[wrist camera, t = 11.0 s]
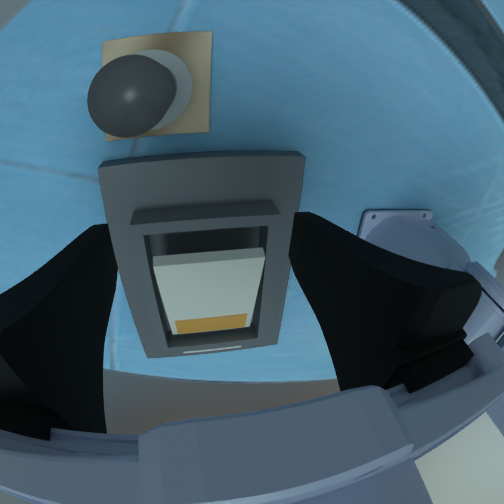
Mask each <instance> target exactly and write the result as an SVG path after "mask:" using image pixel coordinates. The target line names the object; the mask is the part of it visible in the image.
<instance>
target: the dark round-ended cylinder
mask: <svg viewBox="0 0 504 504" xmlns="http://www.w3.org/2000/svg"><path fill="white" fill-rule="evenodd" d="M191 94H192V78H191V74H190V72H189V70H188V68H187V66H186V65H185V63H184V62H183V61H182V60H181V59H180V58H179V57H177V56H176V55H174V54H172V53H170V52H167V51H164V50H145V51H141V52H138V53H135V54H133V55H125V56H121V57H118V58H116V59H114V60H112V61H110V62H109V63H107V64H106V65H105V66H103V67H102V68H101V69H100V70H99V72H98V73H97V74H96V75H95V77H94V79H93V80H92V83H91V85H90V88H89V92H88V99H87V102H88V110H89V113H90V116H91V118H92V120H93V121H94V123H95V124H96V125H97V126H98V127H99V128H100V129H101V130H102V131H104V132H105V133H107V134H109V135H112V136H116V137H122V138H128V137H135V136H138V135H141V134H144V133H146V132H147V131H149V130H155V129H159V128H162V127H165V126H167V125H169V124H170V123H172V122H173V121H175V120H176V119H177V118H178V117H179V116H180V115H181V114H182V113H183V111H184V110H185V109H186V107H187V105H188V103H189V101H190V98H191Z"/></svg>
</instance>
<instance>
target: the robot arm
mask: <svg viewBox="0 0 504 504" xmlns="http://www.w3.org/2000/svg"><path fill="white" fill-rule="evenodd" d="M373 215H374V216H373ZM372 216H373V217H372ZM432 217H433V212H432V211H431V210H368V211H366V212H365V213H364V215H363V219H362V223H361V227H360V230H359V234H358V236H356V235H354V234H352V233H350V232H348V231H346V230H344V229H343V228H341V227H339V226H337V225H335V224H333V223H331V222H330V221H328V220H326V219H324V218H322V217H320V216H318V215H316V214H313V213H311V212H295V213H294V220H293V227H292V233H291V240H290V247H289V253H288V256H289V259H290V262H291V266H292V268H293V271H294V274H295V276H296V278H297V280H298V282H299V284H300V286H301V288H302V290H303V292H304V294H305V296H306V298H307V300H308V302H309V304H310V305H311V307H312V309H313V311H314V313H315V315H316V317H317V319H318V322H319V324H320V326H321V329H322V332H323V334H324V337H325V340H326V343H327V346H328V349H329V352H330V355H331V358H332V361H333V365H334V368H335V372H336V376H337V379H338V383H339V387H340V392H338V393H334V394H331V395H327V396H323V397H319V398H315V399H311V400H307V401H303V402H299V403H294V404H289V405H284V406H279V407H274V408H269V409H263V410H257V411H252V412H245V413H237V414H230V415H222V416H214V417H203V418H193V419H187V420H181V421H175V422H168V423H162V424H160V425H158V426H156V427H154V428H152V429H150V430H147V431H145V432H144V433H142V434H141V435H124V434H123V435H122V434H107V430H106V423H105V414H104V401H103V400H104V399H103V355H104V343H105V336H106V331H107V326H108V321H109V316H110V312H111V308H112V303H113V299H114V294H115V290H116V282H117V272H118V266H117V262H116V258H115V254H114V249H113V245H112V240H111V236H110V231H109V226H108V224H99V225H93V226H91V227H90V228H88V229H87V230H85V231H84V232H83V233H82V234H80V235H79V236H78V237H77V238H76V239H74V240H73V241H72V242H71V243H70V244H69V245H67V246H66V247H65V248H64V249H63V250H62V251H60V252H59V253H58V254H57V255H55V256H54V257H53V258H52V259H51V260H49V261H48V262H47V263H46V264H45V265H43V266H42V267H41V268H39V269H38V270H37V271H35V272H34V273H33V274H31V275H30V276H28V277H27V278H26V279H24V280H23V281H21V282H20V283H18V284H16V285H15V286H13V287H12V288H10V289H8V290H7V291H5V292H4V293H2V294H0V491H3V492H5V493H8V494H10V495H13V496H15V497H18V498H20V499H23V500H26V501H29V502H32V503H35V504H433V503H432V500H431V498H430V496H429V494H428V491H427V489H426V487H425V484H424V482H423V480H422V478H421V476H420V473H419V471H418V469H417V467H416V465H415V462H414V461H415V460H416V459H418V458H420V457H421V456H423V455H425V454H426V453H428V452H430V451H431V450H433V449H434V448H436V447H438V446H439V445H441V444H442V443H443V442H445V441H447V440H448V439H450V438H451V437H453V436H454V435H455V434H457V433H458V432H460V431H461V430H462V429H464V428H465V427H466V426H468V425H469V424H470V423H472V422H473V421H474V420H476V419H477V418H478V417H479V416H481V415H482V414H483V413H484V412H485V411H486V413H487V414H488V415H489V417H490V418H491V419H492V421H493V422H494V424H495V425H496V426H497V428H498V429H499V430H500V432H501V433H502V435H503V436H504V335H503V336H502V337H501V338H500V340H499V341H498V342H497V343H496V340H497V338H498V337H499V336H500V335H501V334H502V333H503V332H504V288H503V286H502V285H501V284H500V283H499V282H498V281H497V280H496V279H495V278H494V277H493V276H492V275H491V274H490V273H489V272H488V271H487V270H486V269H485V268H483V267H482V266H481V265H480V264H479V263H478V262H472V263H471V260H470V257H469V255H468V253H467V252H466V250H465V249H464V248H463V247H462V246H461V245H460V244H458V243H457V242H456V241H455V240H454V239H453V238H452V237H450V236H449V235H448V234H447V233H446V232H445V231H443V230H442V229H441V228H440V227H439V226H437V225H436V224H435V223H434V222H432V221H431V220H432Z"/></svg>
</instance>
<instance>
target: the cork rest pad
mask: <svg viewBox="0 0 504 504" xmlns="http://www.w3.org/2000/svg"><path fill="white" fill-rule="evenodd" d="M211 49H212V31H197V32H174V33H161V34H151V35H142V36H135V37H128V38H121V39H116V40H110V41H105V42H103V44H102V67H103V66H105V65H106V64H107V63H109V62H110V61H112V60H114V59H116V58H118V57H121V56H125V55H133V54H135V53H138V52H141V51H145V50H164V51H167V52H170V53H172V54H174V55H176V56H177V57H179V58H180V59H181V60H182V61H183V62H184V63H185V65H186V66H187V68H188V70H189V72H190V74H191V78H192V94H191V98H190V101H189V103H188V105H187V107H186V109H185V110H184V111H183V113H182V114H181V115H180V116H179V117H178V118H177V119H176V120H175V121H173V122H172V123H170V124H169V125H167V126H165V127H162V128H159V129H155V130H149V131H147V132H146V133H144V134H141V135H138V136H135V137H128V138H122V137H116V136H112V135H109V134H107V133H105V138H106V142H107V141H114V140H122V139H129V138H138V137H147V136H157V135H169V134H182V133H201V132H209V117H210V74H211Z"/></svg>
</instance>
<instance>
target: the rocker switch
mask: <svg viewBox="0 0 504 504" xmlns="http://www.w3.org/2000/svg"><path fill="white" fill-rule="evenodd" d="M264 261H265V254H264V250H263V247H262V248H250V249H237V250H225V251H213V252H201V253H189V254H177V255H165V256H153V269H154V273H155V276H156V280H157V284H158V287H159V291H160V294H161V298H162V301H163V304H164V308H165V311H166V314H167V318H168V321H169V324H170V327H171V330H172V333H173V335H174V334H186V333H197V332H207V331H217V330H226V329H234V328H242V327H250V323H251V319H252V314H253V310H254V306H255V301H256V297H257V292H258V288H259V284H260V279H261V275H262V270H263V266H264Z"/></svg>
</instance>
